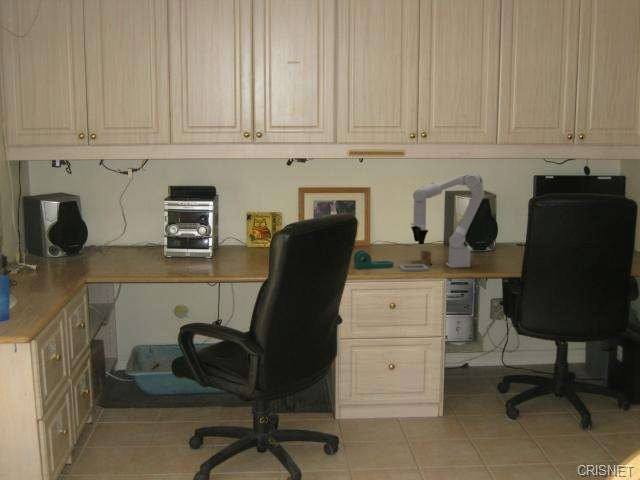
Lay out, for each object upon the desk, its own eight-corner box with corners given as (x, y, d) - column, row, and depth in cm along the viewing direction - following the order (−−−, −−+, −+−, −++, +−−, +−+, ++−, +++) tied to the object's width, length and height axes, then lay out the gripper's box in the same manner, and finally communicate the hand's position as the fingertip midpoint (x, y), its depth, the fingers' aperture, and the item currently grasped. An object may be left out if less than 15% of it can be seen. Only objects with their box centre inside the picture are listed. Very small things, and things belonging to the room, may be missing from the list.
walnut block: (428, 263, 329) (428, 250, 328) (430, 264, 325) (431, 252, 324) (420, 263, 328) (420, 250, 327) (422, 265, 325) (422, 252, 323)
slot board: (423, 266, 323) (423, 264, 323) (428, 271, 314) (429, 268, 314) (398, 267, 322) (398, 264, 322) (402, 271, 313) (403, 269, 313)
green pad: (428, 263, 330) (428, 262, 330) (431, 266, 324) (431, 265, 324) (416, 263, 329) (416, 262, 329) (419, 266, 323) (419, 265, 323)
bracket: (356, 269, 318) (356, 253, 317) (353, 266, 325) (353, 250, 324) (395, 268, 321) (395, 251, 320) (391, 265, 328) (391, 248, 326)
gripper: (407, 212, 333) (407, 240, 335) (415, 216, 319) (414, 245, 321) (422, 211, 333) (421, 239, 336) (430, 216, 319) (429, 245, 322)
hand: (419, 242), depth 329 cm, fingers open, 7 cm apart
